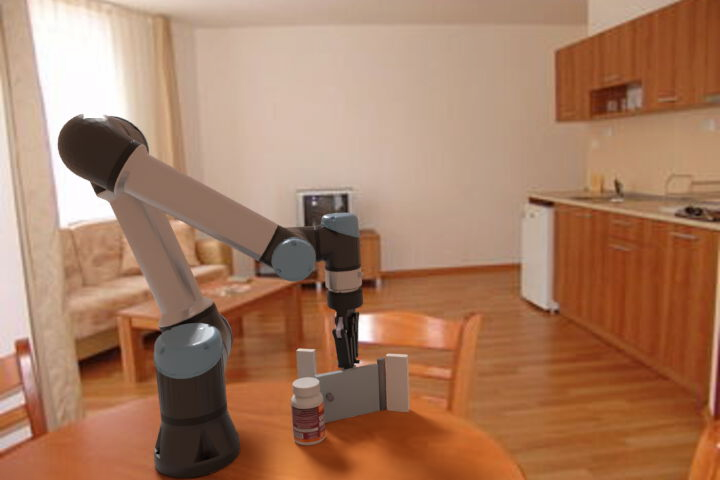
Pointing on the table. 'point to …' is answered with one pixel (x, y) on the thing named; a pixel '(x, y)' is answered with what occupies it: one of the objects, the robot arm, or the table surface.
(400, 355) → the wall frame
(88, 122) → the robot arm
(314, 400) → the pill bottle
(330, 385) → the door
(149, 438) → the table surface
